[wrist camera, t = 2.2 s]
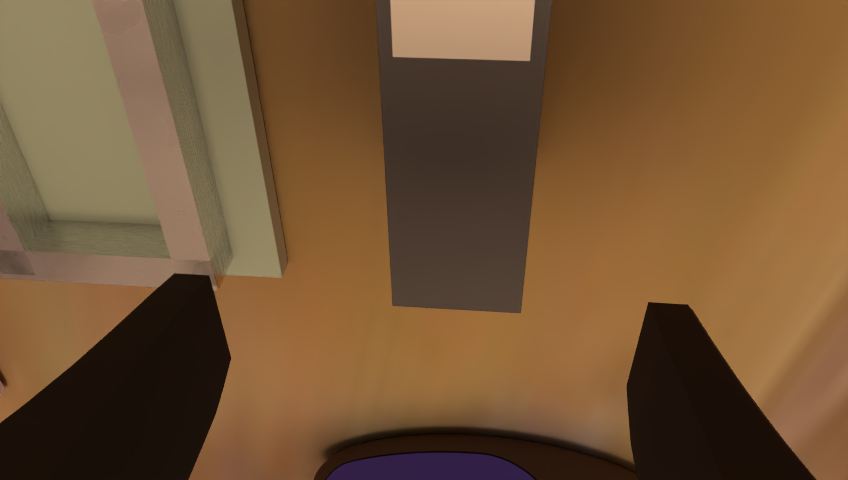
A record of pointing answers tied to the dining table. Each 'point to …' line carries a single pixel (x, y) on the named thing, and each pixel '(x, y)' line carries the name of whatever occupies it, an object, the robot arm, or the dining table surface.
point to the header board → (133, 144)
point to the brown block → (460, 146)
